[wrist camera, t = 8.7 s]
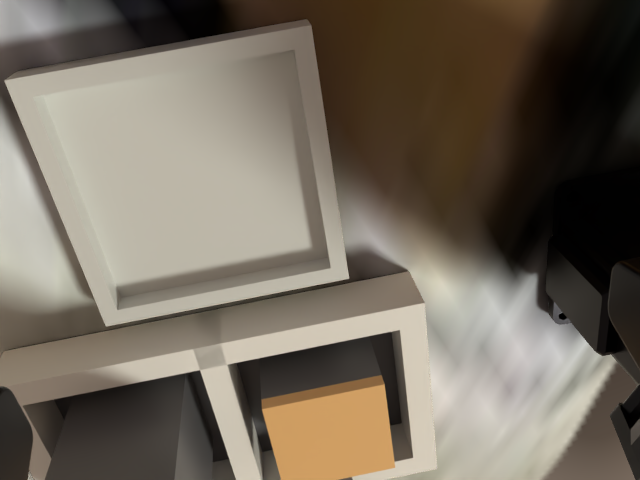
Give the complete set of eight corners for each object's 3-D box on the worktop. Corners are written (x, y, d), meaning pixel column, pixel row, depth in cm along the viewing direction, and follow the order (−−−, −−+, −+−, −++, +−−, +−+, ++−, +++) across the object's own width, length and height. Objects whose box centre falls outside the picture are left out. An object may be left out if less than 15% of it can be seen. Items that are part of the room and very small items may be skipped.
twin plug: (365, 326, 24) (384, 384, 21) (391, 513, 30) (409, 579, 27) (258, 347, 24) (262, 409, 21) (306, 531, 30) (314, 600, 27)
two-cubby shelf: (409, 271, 23) (424, 303, 22) (423, 430, 28) (437, 468, 26) (4, 351, 23) (-18, 391, 21) (83, 501, 27) (72, 545, 25)
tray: (306, 18, 18) (311, 25, 17) (343, 262, 23) (349, 278, 22) (17, 70, 18) (4, 80, 17) (111, 307, 23) (105, 326, 21)
